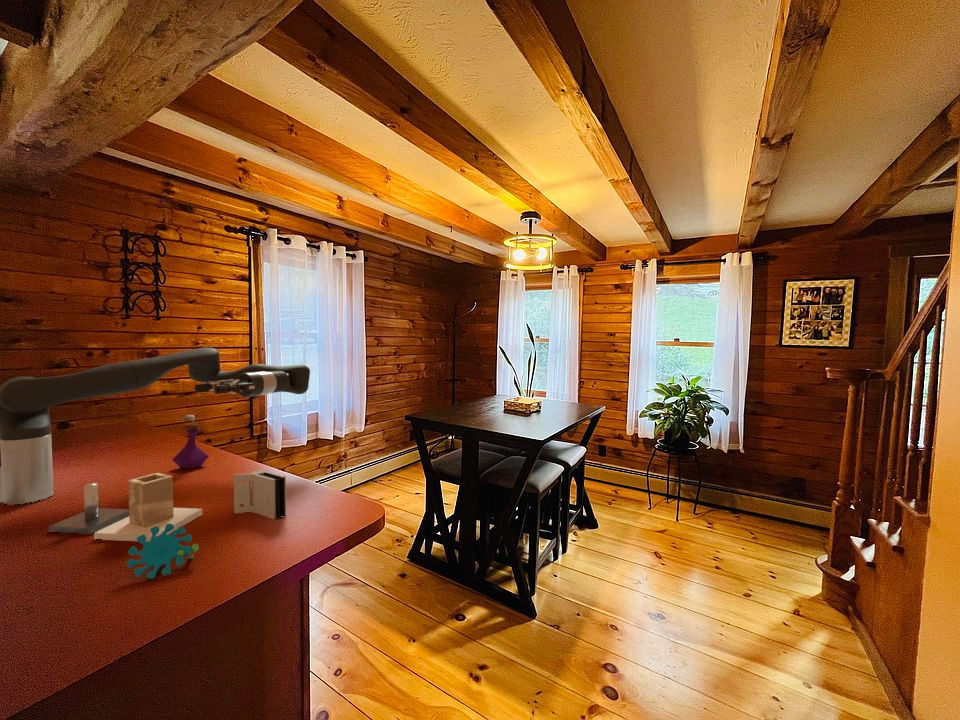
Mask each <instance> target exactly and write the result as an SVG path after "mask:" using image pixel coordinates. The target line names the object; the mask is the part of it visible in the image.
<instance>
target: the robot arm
mask: <svg viewBox="0 0 960 720" xmlns="http://www.w3.org/2000/svg"><path fill="white" fill-rule="evenodd" d="M220 356H221V355H220V352H219V351H218V349H216V348H213V347H199V348H193V349H189V350H185V351H183V350H182V351H179V352H175V353H171V354H166V355H161V356H156V357H155V356H154V357H149V358H143V359H135V360H134V359H133V360H127V361H126V360H125V361H121V362H114V363H108V364H105V365H100V366H95V367H93V368H90V369H85V370H82V371H78V372H75V373H70V374H65V375H55V376H47V377H46V376H45V377H33V376H16V377H13V378H10V379H8V380H6V381H5V382H3V383H2V385H1V386H0V463H1V466H0V501H1V502H0V503H2V504H3V503H4V504H7V505H6V506H16V505H17V504H20V505H26V504H25V503H27V504H30V502H32V503H36V502H39V501H38V500H40V501H43V500H46V499H49V498H51V497H53V495H54V473H53V471H54V469H53V468H54V467H53V449H52V447H53V444H52V424H51V417H50V407H53V406H57V405H61V404H65V403H69V402H72V401H77V400H81V399H82V400H83V399H89V398H98V397H99V398H100V397H104V396H112V395H117V394H123V393H128V392H133V391H138V390H142V389H145V388H147V387H149V386H151V385H152V384H154V383H155V382H157V381H158V380H159V379H161V378H162V377H164V376H165V375H167V374H168V373H169V372H171V371H173V370H175V369H177V368H180V367H183V366H187V370H188V371H187V372H188V375H189V378H190V379H191V380H192V381H194V382H199V383H198V384H197V383H196V384H195V385H194V391H195V392H196V393H202V392H214V394H216V395H220V394H231V395H233V394H238V395H240V396H241V397H243V398H250V397H257V396H258V397H259V396H265V395H268V394H272V393H273V394H274V393H280V392H281V393H290V394H294V395H303V394H305V393H306V392H307V391H308V389H309V384H310V377H311V376H310V375H311V369H310V368H309V367H308V366H307V365H304V364H294V365H293V364H292V365H284V366H283V365H281V366H280V365H279V366H277V365H270V364H264V363H253V364H250V365H247V366H244V367H241V368H239V369H235V370H232V371H226V370H221V357H220ZM50 496H51V497H50ZM48 497H49V498H48ZM42 499H43V500H42ZM35 501H36V502H35ZM4 504H3V505H4ZM15 504H16V505H15Z"/></svg>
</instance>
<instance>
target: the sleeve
mask: <svg viewBox="0 0 960 720" xmlns="http://www.w3.org/2000/svg"><path fill="white" fill-rule="evenodd" d="M173 481H174V480H173V475H169V474H164V473H161V472H154V473H150V474H146V475H143V476H140V477H136V478H132V479H128V481H127V482H128V509H129V520H130V523H132V524H135V525H138V526H141V527H144V528H145V527H148V526H151V525H154V524H156V523H159V522H162V521H165V520H167V519H170V518H173V517H174V510H173V508H174V482H173Z"/></svg>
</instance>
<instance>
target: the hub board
mask: <svg viewBox="0 0 960 720" xmlns="http://www.w3.org/2000/svg"><path fill="white" fill-rule="evenodd" d="M173 510H174V517H173V518H170V519H167V520H165V521H162V522H159V523H156V524H154V525H151V526H148V527H145V528H144V527H141V526H138V525H135V524H132V523H130V520H129V517H127V518H124V519H122V520H120V521H118V522H116V523H114V524H112V525H110V526H107V527H105V528H103V529H101V530H99V531H97V532H95V533H93V535H94V536H93V538H94V540H96V539H102V540H101V541H122V542H123V541H124V542H138V541H137V538H138V537H139V536H141V535H143V534H144V535H145V536H146V541H145V542H149V541H150V540H151V538H152V533H151V528H153V527H159V529H160V531H159V532H158V533H157V534H156V536H160V535H161V534H162V533H163V531H164V530H165V526H166V525H167V524H172V525H174V529H173V530H171V531H169V532H167V533H166V535H169V534H172V533H173V532H175V531H176V530H177V529H178V528H179V527H180V526H183V527H185V525H187V524H189V523H190V522H193V521H194V520H196V519H198V518H199V517H201V516H203V508H194V507H193V508H192V507H190V508H188V507H173Z"/></svg>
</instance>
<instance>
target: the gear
mask: <svg viewBox="0 0 960 720" xmlns="http://www.w3.org/2000/svg"><path fill="white" fill-rule="evenodd" d="M173 529H174V525H172V524H167V525H166V526H165V530H164V531H163V533H162V534H161V535H160V536H156V534H157V533H158V532H159V531H160V529H159V527H153V528H151V533H152V538H151V540H150V541H149V542H145V541H146V536H145V535H144V534H143V535H141V536H139V537H138V538H137V541H136V542H138V543H140V544H141V545H143V549H141V550H139V549H138V548H137V547H136V546H134V545H133V546H131V547H130V549H129V550H128V551H127V554H129V555H131V556H135V555H136V556H137V555H139V556H140V557H141V558H140V559H139V560H136V559H134V558H130V559H128V560H127V565H126V566H127V567H128V568H129V569H130V568H131V569H132V568H134V567H135V566H137V565H141V564H145V566H144V567H138V568H135V569H134V570H133V573H134V575H135V576H136V577H137V578H138V577H139V578H140V577H141V576H142V575H143V573H145V572H146V571H147V570H148V569H151V568H152V567H154V569H152V570H151V571H149V572H147V573H146V574H145V577H146V578H147V579H150V580H154V579H155V578H156V576H157V572H158V571H159V569H160V568H161V567H162V566H164V565H166V566H165V567H164V568H163V569H162V571H161V574H162V575H163V576H168V575H171V574H172V568H171V562H172V561H173V560H174V559H176V560H175V565H176V566H177V567H180V566H182V565H184V563H185V562H186V561H185V559H184V558H188V559H189V560H192V559H194V554H195V552H198V551H199V549H200V546H199V544H198V543H193V544H192V545H186V546H185V545H181V544H180V543H181V542H185V543H190V542H192V535H191V533H188V534H186V535H184V536H182V537H176V536H177V535H182V534H185V533H186V529H185V526H180V527H179V528H178V529H177V530H175V531H173V532H172V533H170V534H168V535H166V533H167V532H169V531H171V530H173Z"/></svg>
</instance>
